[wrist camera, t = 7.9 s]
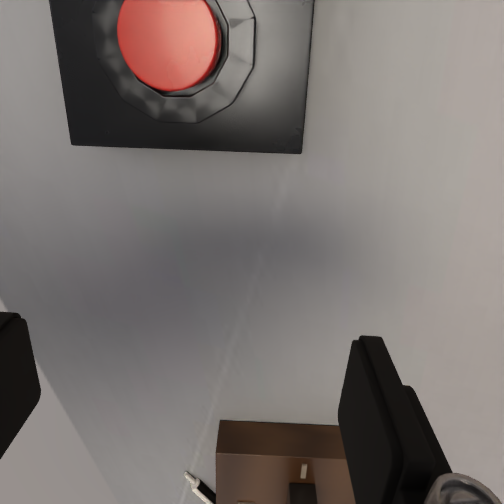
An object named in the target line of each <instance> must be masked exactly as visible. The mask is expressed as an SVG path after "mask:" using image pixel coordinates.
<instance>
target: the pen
mask: <svg viewBox="0 0 504 504" xmlns="http://www.w3.org/2000/svg"><path fill="white" fill-rule="evenodd" d="M183 475H184V476H185V477H186V478H187V479H188V480H189V481H190V482H191V483H190V486H191V487H192V488H191V489H192V491H193V492H194V493H195V494H196V495H197V496H198V497H200V498H201V499H202V500H203V501H204V502H205V503H206V504H216V494H215V493H213V492H212V491H211V490H210V489H209V488H208V487H207V486H206V485H205V484H204V483H203V482H202V481H201V480H200V479H199V478H197V479H194V478H193V477H192V476H191V475H190V474H189V473H187V472H185V473H184V474H183Z"/></svg>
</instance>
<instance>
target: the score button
mask: <svg viewBox="0 0 504 504" xmlns="http://www.w3.org/2000/svg"><path fill="white" fill-rule="evenodd" d="M117 37H118V43H119V47H120V50H121V53H122V55H123V58H124V60H125V62H126V63H127V65H128V66H129V68H130V69H131V71H132V72H133V73H134V74H135V75H136V76H137V77H138V78H139V79H140V80H142V81H143V82H144V83H146V84H147V85H149V86H151V87H153V88H156V89H159V90H163V91H180V90H185V89H188V88H191V87H194V86H196V85H198V84H200V83H201V82H203V81H204V80H205V79H206V78H207V77H208V76H209V75H210V74H211V73H212V71H213V70H214V68H215V67H216V64H217V62H218V60H219V56H220V52H221V44H222V38H221V30H220V25H219V22H218V19H217V17H216V14H215V13H214V11H213V9H212V7H211V6H210V5H209V3H208V2H207V1H206V0H124V2H123V4H122V6H121V9H120V12H119V16H118V22H117Z"/></svg>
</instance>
